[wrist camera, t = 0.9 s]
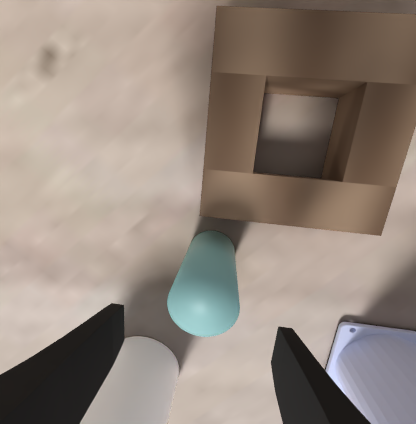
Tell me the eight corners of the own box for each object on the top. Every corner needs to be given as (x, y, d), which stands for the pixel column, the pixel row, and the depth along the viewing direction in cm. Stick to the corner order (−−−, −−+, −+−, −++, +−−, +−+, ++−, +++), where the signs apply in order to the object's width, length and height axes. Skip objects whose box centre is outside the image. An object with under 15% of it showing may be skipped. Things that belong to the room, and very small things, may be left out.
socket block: (401, 47, 13) (450, 15, 10) (353, 222, 16) (380, 235, 13) (218, 38, 14) (216, 5, 11) (204, 206, 17) (199, 216, 14)
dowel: (237, 233, 17) (244, 278, 11) (231, 275, 18) (234, 341, 12) (190, 227, 18) (168, 269, 11) (187, 269, 19) (165, 331, 12)
